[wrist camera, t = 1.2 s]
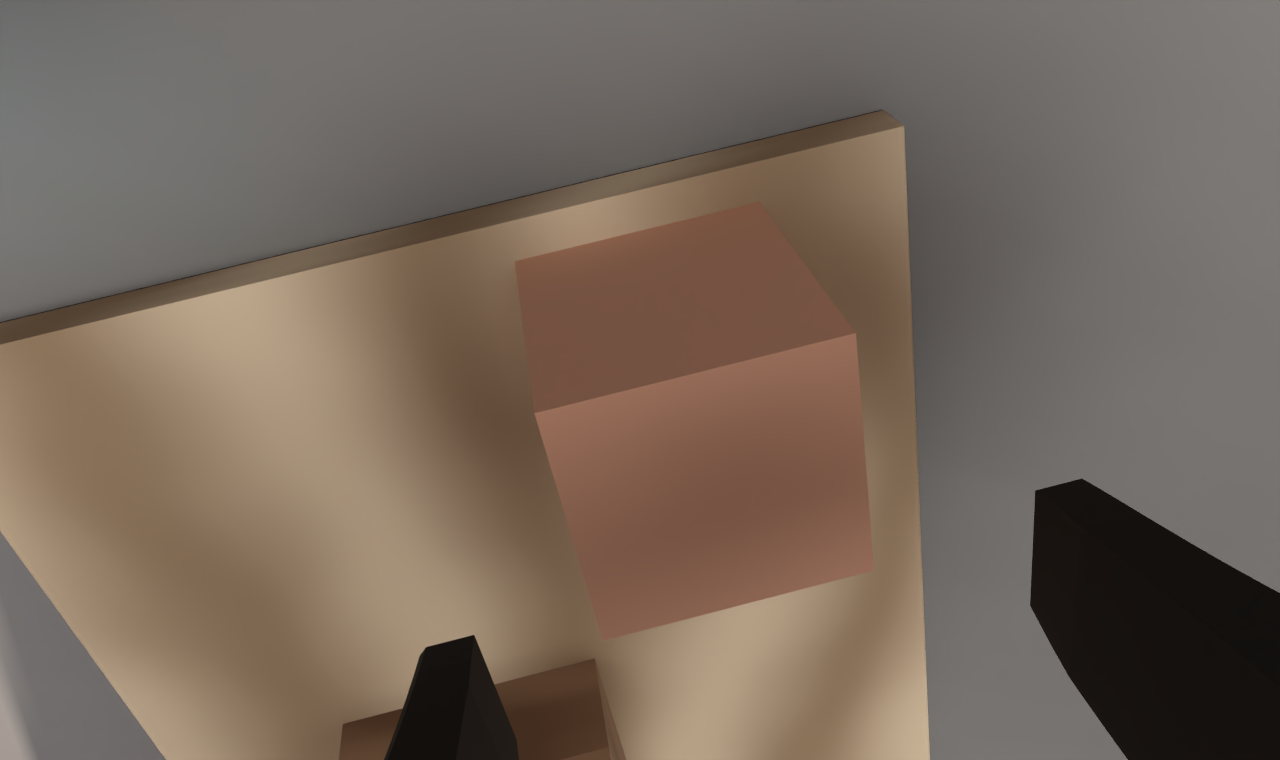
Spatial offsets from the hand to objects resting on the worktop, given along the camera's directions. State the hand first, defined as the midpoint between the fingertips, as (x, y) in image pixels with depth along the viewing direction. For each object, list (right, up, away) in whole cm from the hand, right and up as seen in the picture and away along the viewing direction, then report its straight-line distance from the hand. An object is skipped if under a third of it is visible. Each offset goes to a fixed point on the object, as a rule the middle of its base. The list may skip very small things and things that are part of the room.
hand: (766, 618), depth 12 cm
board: (-4, -3, +11) cm, 12 cm away
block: (-1, +4, +6) cm, 8 cm away
